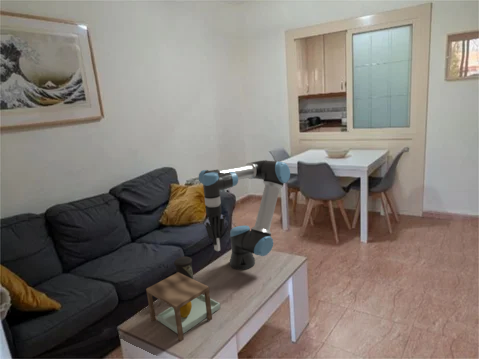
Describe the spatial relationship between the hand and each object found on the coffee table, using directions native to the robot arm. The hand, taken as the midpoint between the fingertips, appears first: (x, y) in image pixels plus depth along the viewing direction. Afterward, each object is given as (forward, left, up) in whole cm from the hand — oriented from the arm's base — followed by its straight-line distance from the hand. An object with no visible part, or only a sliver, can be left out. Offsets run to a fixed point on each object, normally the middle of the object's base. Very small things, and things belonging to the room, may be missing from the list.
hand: (217, 249), depth 166 cm
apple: (+24, 0, -24) cm, 34 cm away
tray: (+21, 0, -24) cm, 32 cm away
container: (+11, -14, -25) cm, 31 cm away
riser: (+26, 0, -24) cm, 36 cm away
